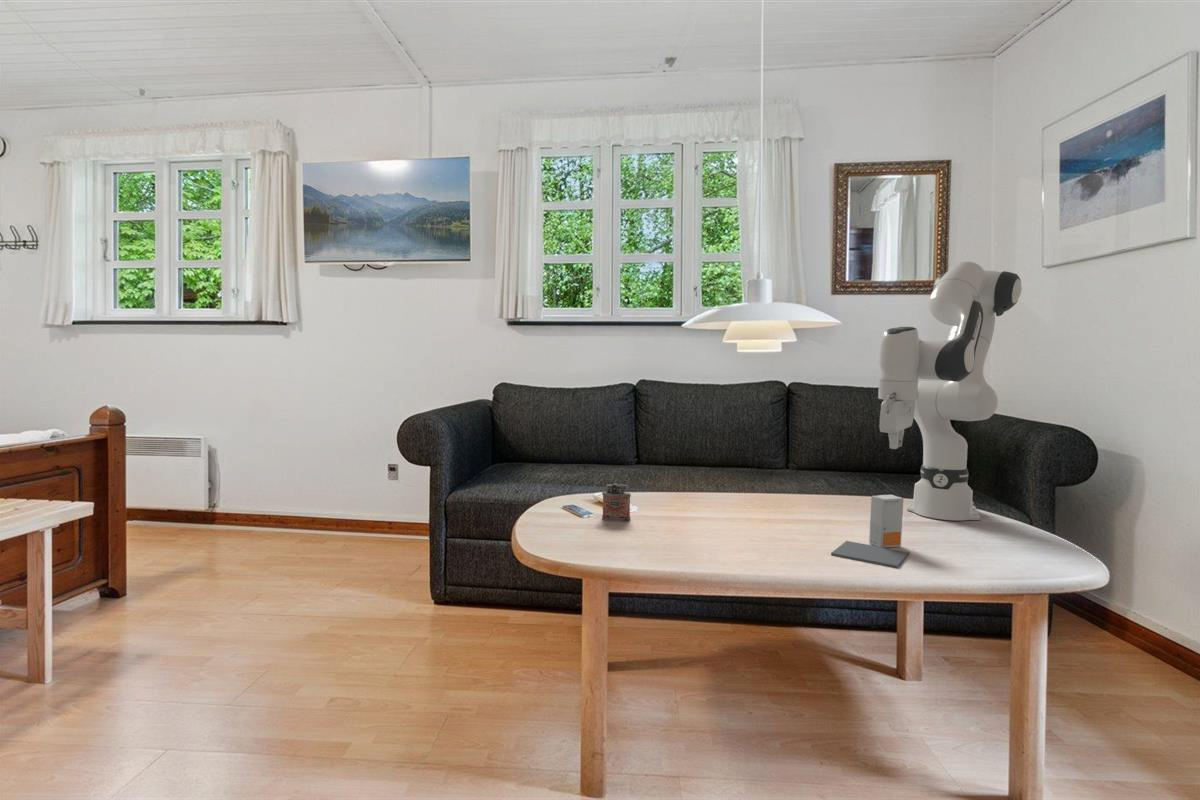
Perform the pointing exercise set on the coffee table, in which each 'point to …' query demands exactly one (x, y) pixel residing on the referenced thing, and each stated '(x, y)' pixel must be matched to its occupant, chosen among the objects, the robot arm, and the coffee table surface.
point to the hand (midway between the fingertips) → (895, 447)
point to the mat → (871, 554)
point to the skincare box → (886, 521)
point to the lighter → (616, 503)
